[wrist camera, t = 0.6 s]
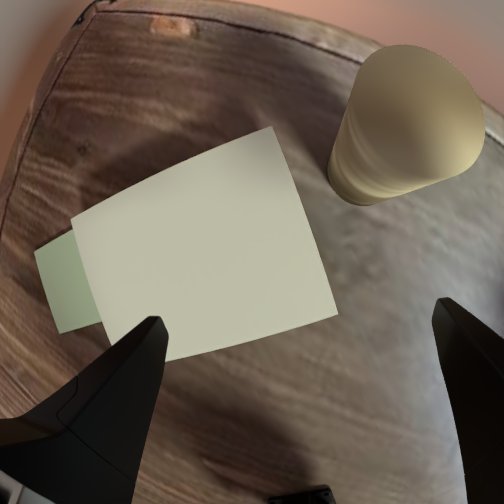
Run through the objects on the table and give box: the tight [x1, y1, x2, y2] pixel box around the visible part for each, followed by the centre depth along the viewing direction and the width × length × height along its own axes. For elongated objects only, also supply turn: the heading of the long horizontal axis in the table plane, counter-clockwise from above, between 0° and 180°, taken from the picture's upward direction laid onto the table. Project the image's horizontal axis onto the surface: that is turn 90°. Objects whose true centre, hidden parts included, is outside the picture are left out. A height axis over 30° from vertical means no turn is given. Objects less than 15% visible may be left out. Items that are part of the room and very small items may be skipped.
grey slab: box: [71, 126, 338, 362], centre depth 21 cm, size 13×16×4 cm
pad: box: [34, 229, 102, 334], centre depth 25 cm, size 9×9×1 cm
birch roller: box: [327, 45, 485, 206], centre depth 15 cm, size 5×5×13 cm
